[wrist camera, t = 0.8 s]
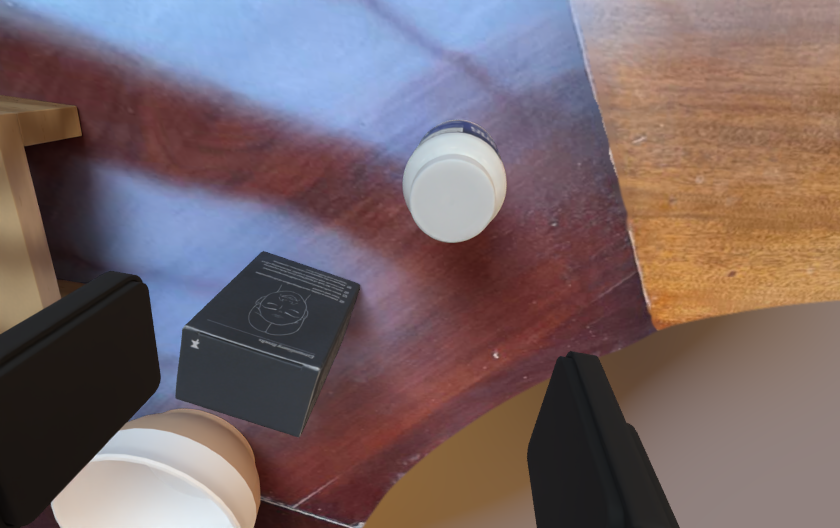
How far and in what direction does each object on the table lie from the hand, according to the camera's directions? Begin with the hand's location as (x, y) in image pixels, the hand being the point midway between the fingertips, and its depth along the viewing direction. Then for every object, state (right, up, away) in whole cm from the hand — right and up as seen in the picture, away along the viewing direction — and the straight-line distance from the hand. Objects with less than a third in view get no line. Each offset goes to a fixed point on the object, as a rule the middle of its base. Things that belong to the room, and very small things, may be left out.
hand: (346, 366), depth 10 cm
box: (-7, 0, +25) cm, 26 cm away
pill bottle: (+4, +9, +19) cm, 22 cm away
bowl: (-19, -16, +33) cm, 41 cm away
